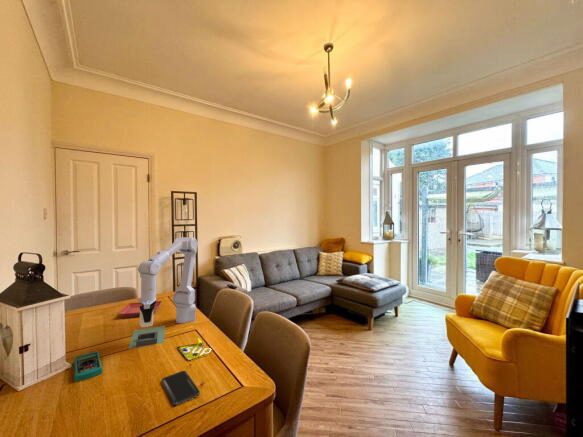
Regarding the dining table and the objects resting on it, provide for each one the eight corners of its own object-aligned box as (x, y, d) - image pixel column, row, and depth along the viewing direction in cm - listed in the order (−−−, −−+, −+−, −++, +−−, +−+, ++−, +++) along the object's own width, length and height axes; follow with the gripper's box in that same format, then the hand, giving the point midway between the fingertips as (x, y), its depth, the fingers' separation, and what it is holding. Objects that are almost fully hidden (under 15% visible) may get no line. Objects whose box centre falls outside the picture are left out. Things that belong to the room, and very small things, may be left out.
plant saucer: (128, 308, 150) (128, 302, 150) (162, 305, 155) (162, 300, 155) (117, 320, 132) (117, 313, 132) (155, 316, 138) (156, 310, 138)
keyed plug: (153, 322, 111) (153, 306, 111) (152, 325, 107) (152, 309, 107) (140, 323, 109) (140, 307, 109) (139, 327, 105) (139, 310, 105)
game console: (172, 345, 108) (172, 342, 108) (197, 337, 116) (197, 334, 116) (188, 363, 95) (188, 359, 95) (216, 353, 103) (216, 349, 103)
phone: (173, 404, 73) (160, 378, 84) (173, 408, 73) (160, 381, 84) (201, 392, 78) (185, 369, 89) (201, 396, 78) (185, 372, 89)
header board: (165, 327, 124) (165, 321, 124) (163, 344, 107) (164, 337, 107) (134, 332, 118) (134, 326, 118) (128, 351, 102) (128, 343, 102)
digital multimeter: (74, 384, 82) (74, 375, 82) (73, 363, 93) (73, 356, 93) (102, 375, 87) (102, 367, 87) (98, 357, 98) (98, 349, 98)
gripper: (139, 285, 113) (139, 315, 113) (135, 294, 100) (134, 328, 100) (157, 283, 116) (156, 313, 116) (155, 292, 103) (154, 325, 103)
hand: (147, 320), depth 108 cm, fingers closed on keyed plug, 4 cm apart
